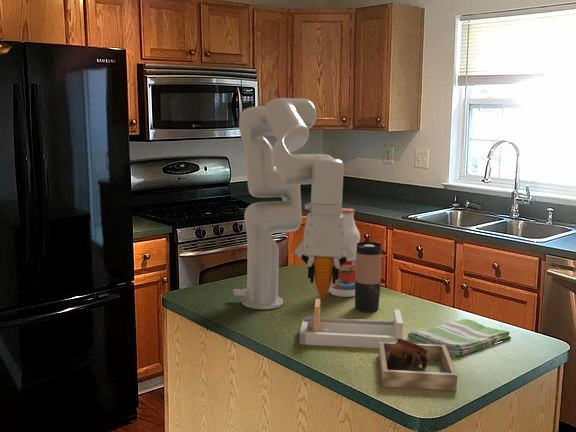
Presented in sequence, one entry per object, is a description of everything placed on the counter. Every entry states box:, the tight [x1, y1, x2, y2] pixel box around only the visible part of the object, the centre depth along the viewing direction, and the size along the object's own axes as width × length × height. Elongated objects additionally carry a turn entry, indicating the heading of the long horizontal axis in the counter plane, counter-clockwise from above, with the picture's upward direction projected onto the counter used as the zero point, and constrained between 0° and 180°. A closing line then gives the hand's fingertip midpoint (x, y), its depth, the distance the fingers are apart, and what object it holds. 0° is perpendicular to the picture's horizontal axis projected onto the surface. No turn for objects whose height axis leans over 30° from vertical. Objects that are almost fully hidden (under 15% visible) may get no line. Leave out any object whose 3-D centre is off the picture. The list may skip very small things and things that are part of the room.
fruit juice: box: [329, 207, 361, 298], centre depth 208 cm, size 9×9×28 cm
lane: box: [299, 309, 404, 349], centre depth 169 cm, size 26×11×7 cm, turn 85°
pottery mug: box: [386, 338, 428, 371], centre depth 149 cm, size 12×10×8 cm
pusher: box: [313, 298, 331, 333], centre depth 169 cm, size 4×7×9 cm, turn 175°
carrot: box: [313, 256, 334, 299], centre depth 158 cm, size 5×5×15 cm
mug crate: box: [378, 342, 458, 391], centre depth 149 cm, size 16×18×4 cm
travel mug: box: [354, 241, 383, 313], centre depth 194 cm, size 8×8×20 cm
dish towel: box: [407, 318, 512, 358], centre depth 171 cm, size 17×23×4 cm
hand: (323, 280), depth 159 cm, fingers closed on carrot, 4 cm apart
